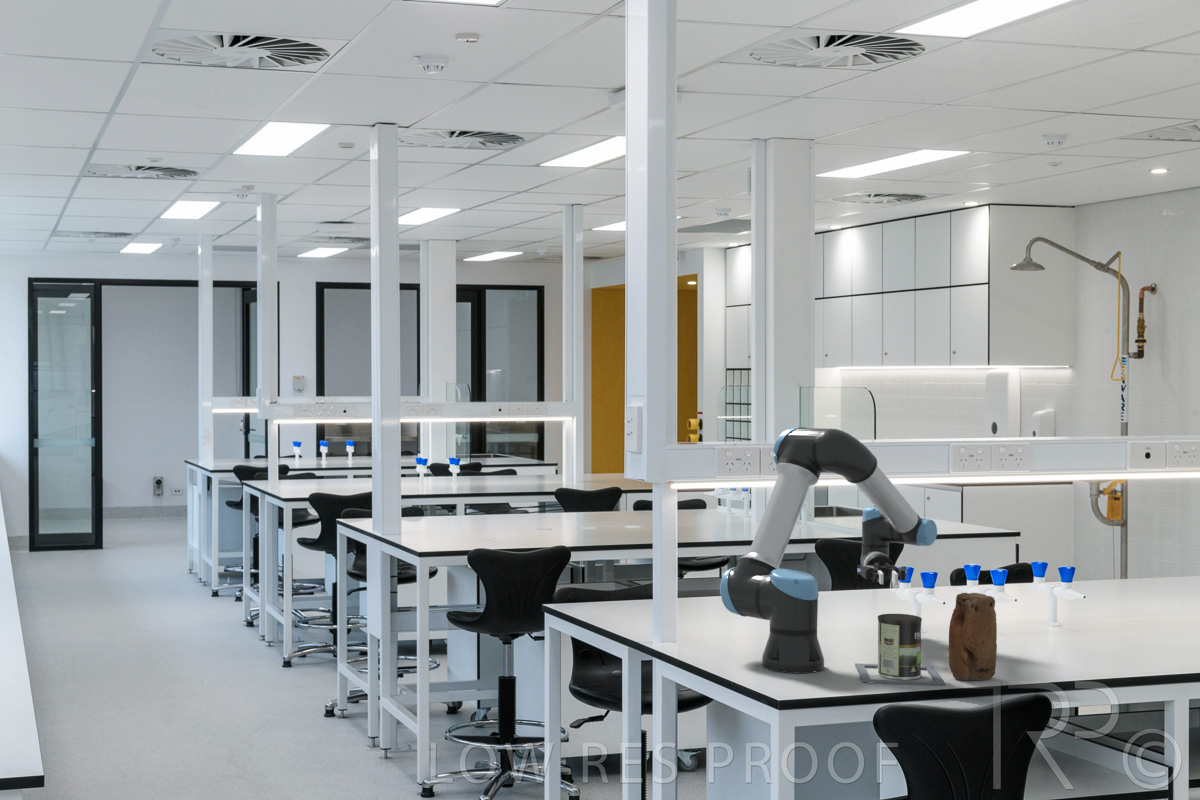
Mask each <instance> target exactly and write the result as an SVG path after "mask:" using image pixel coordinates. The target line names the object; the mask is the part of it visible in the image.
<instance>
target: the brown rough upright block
mask: <svg viewBox="0 0 1200 800" xmlns="http://www.w3.org/2000/svg"><path fill="white" fill-rule="evenodd" d="M995 605H996V600H995V597H993V596H991V595H986V594H984V593H980V592H979V593H978V592H970V593H968V592H962V593H958V594H957V595H956V597H955V608H954V609H953V610H952V615H951V617H950V620H949V621H950V622H949V627H948V665H949V670H950V672H951V674H952V677H953V678H955V679H957V680H959V681H961V680H962V681H970V680H974V681H977V680H978V681H979V680H988V679H991V678H993V677H994V676H995V675H996V668H997V649H998V647H997V645H998V644H997V637H998V636H997V633H998V632H997V629H998V628H997V613H996V610H995Z"/></svg>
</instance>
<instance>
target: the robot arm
mask: <svg viewBox="0 0 1200 800" xmlns="http://www.w3.org/2000/svg"><path fill="white" fill-rule="evenodd" d="M773 453H774V455H773V461H774V463H775V470H776V472H777V474H778V476H777V479H776V481H775V483H774V486H773V489H772V491H771V495H769V496H770V497H769V499H768V502H767V504H766V507H765V510H764V512H763V514H762V518H761V520H760V522H759V524H758V526H757V527H758V528H757V530H756V533H755V535H754V537H753V540H752V543H751V545H750V548H749V551H748V552H747V554H746V555H743V556H740V558H739V559H738V562H737V564H736V567H731V568H728V570H726V571H724V573H723V575H722V577H721V580H720V584H719V594H720V597H721V602H722V605H724V607H725V609H726V610H727V611H729V612H730V613H732V614H735V615H739V616H741V617H748V618H749V617H751V618H756V619H760V620H766V621H769V634H768V639H767V641H766V645H765V647H764V650H763V653H762V656H761V657H762V658H761V666H762V667H763V668H764V667H765V669H767V668H768V669H767V670H770V669H772V670H771V671H774V670H777V671H776V672H779V671H785V672H784V673H787V672H811V673H815V672H814V671H817V672H820V670H821V671H823V670H824V669H825V658H824V655H823V652H822V651H823V650H822V648H821V645H820V641H819V637H818V612H819V611H818V610H819V609H818V608H819V607H818V606H819V603H818V601H819V589H818V580H817V579H816V578H815V576H814V575H812V574H810V573H808V572H805V571H802V570H797V569H789V568H780V565H781V564H782V560H783V557H784V555H785V552H786V550H787V548H788V544H789V542H790V539H791V536H792V533H793V531H794V528H795V525H796V523H797V520H798V518H799V515H800V512H801V511H802V510H801V509H802V507H803V504H804V503H805V500H806V497H807V494H808V492H809V488H810V487H812V486H815V485H817V483H818V482H819V479H820V477H821V473H822V474H823V473H827V474H829V473H830V474H835V475H839V476H842V477H843V478H845V480H846V481H847V482H848V483H850V484H854V485H856V486H857V488H858V489H859V490H860V492H862V493H863V494H864V495H865V497H866V498H867V499H868V500H869V501H870V502H871V504H872V505H873V506H871V507H870V506H868V507H867V506H866V507H865V508H864V509H863V510H862V522H861V531H862V532H861V535H862V536H861V540H862V541H861V556H860V559H859V560H860V564H858V565H857V566H856V567H857V568H856V569H857V575H859V576H861V577H863V578H864V579H865V580H870V579H871V580H872V583H873V584H874V583H877V584H878V583H879V584H880V585H884V582H887V581H889V580H891V582H892V583H893V584H894V585H896V586H898V584H899V581H903V582H904V581H906V577H907V571H908V570H907V568H908V567H907V566H905V565H903V566H899V567H898V566H895V564H894V563H893V561H892V560H891V558H890V557H889V555H890V543H894V544H902V545H911V546H917V547H929V546H932V545H933V544H934V543H935V541H936V538H937V536H938V527H937V524H936V522H935V521H934V520H933V519H930V518H927V517H924V518H922V517H920V515H919V514H918V513H917V512H916V510H915V509H914V508H913V507H912V505H911V504H910V503H909V502H908V501H907V499H906V498H905V497H904V496H903V494H901V492H900V491H899V490H898V489H897V487H896V486H895V485H894V484H893V483H892V482H891V481H892V480H890V479H889V478H888V476H887V475H886V474H885V473H884V472H883V471H882V469H881V468H880V467H879V465H878V459H877V457H875V455H874V453H872V451H871V450H870V449H869V448H868V447H867V446H866V445H865V444H863V443H862V442H861V441H860V440H859V439H858V438H856V437H854V436H853V435H851V434H850V433H848V432H846V431H844V430H841V429H837V428H817V427H816V428H815V427H813V428H811V427H810V428H809V427H804V426H801V427H800V426H799V427H792V428H788V429H786V430H784V431H782V432H781V433H780V434H779V436H778V437H777V439H776V441H775V443H774V446H773Z"/></svg>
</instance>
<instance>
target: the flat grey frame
mask: <svg viewBox="0 0 1200 800" xmlns="http://www.w3.org/2000/svg"><path fill="white" fill-rule="evenodd" d="M854 666H855V669H856V668H857V669H856V671H857V670H858V671H857V673H858V672H859V673H858V675H859V674H860V676H859V678H860V677H861V678H860V679H862V680H861V682H862V681H863V682H872V683H871V684H878V683H882V685H905V686H906V685H907V686H909V685H910V686H936V687H947V683H946V682H945V680H944V679H943V678H942V676H941V674H940V673H939V672H938V671H937V669H936V668H935V666H933V665H921V671H922V670H923V671H926V672H927V671H928V672H927V673H928V674H929V676H930V677H931V679H932V680H933V681H930V680H929V681H928V680H925V681H924V680H895V679H879V678H878V679H877V678H875V679H874V678H871V677H870V675H869V673H868V670H867V669H866V667H875V668H874V669H878V663H854ZM876 667H877V668H876ZM873 682H874V683H873Z"/></svg>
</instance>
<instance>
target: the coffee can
mask: <svg viewBox="0 0 1200 800" xmlns="http://www.w3.org/2000/svg"><path fill="white" fill-rule="evenodd" d="M922 621H923V618H922V617H921V616H918V615H914V614H906V613H882V614H879V615H877V623H878V624H877V625H878V626H877V632H878V634H877V636H878V637H877V664H878V668H877V673H878V674H877V675H878V677H881V678H884V679H887V680H906V681H916V680H918V679H921V678H922V675H921V671H922V670H921V666H922V661H921V660H922Z"/></svg>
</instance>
